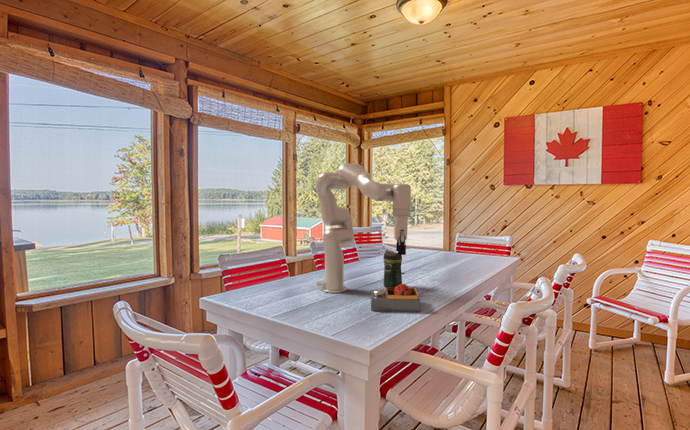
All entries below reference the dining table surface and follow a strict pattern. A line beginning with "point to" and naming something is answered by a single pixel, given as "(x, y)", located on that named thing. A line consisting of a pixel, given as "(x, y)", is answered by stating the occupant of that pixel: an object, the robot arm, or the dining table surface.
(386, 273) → the coffee jar
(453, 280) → the dining table surface
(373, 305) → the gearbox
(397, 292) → the pomegranate
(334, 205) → the robot arm
